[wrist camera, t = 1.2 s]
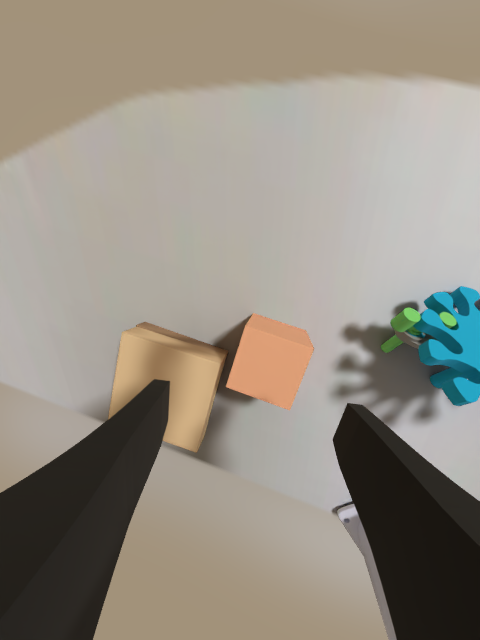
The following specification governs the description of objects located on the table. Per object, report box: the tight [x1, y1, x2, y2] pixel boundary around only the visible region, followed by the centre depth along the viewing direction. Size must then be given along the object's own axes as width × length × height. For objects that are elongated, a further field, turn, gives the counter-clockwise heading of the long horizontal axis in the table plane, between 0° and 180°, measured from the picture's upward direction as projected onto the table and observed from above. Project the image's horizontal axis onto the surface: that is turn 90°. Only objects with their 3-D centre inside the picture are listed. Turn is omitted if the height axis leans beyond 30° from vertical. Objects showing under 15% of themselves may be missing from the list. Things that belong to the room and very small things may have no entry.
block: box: [226, 313, 314, 410], centre depth 18 cm, size 4×4×5 cm
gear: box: [381, 286, 480, 406], centre depth 16 cm, size 11×6×10 cm
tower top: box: [108, 327, 226, 453], centre depth 20 cm, size 8×8×2 cm
